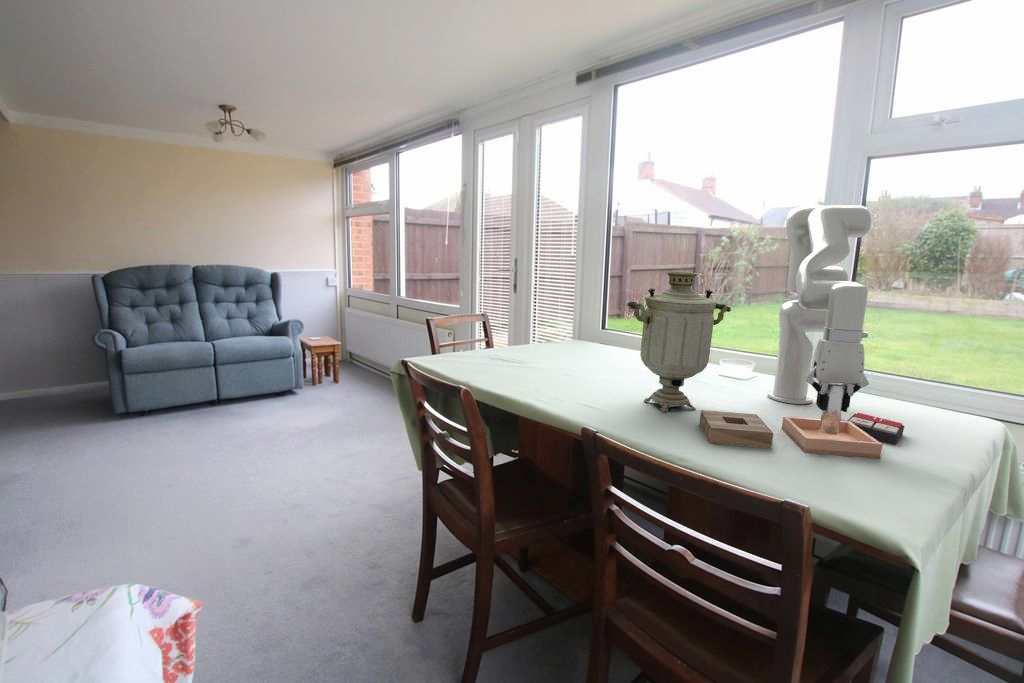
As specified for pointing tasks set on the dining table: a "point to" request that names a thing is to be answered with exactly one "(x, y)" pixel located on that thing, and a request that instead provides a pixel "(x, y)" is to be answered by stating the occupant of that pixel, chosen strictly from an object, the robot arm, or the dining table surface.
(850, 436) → the tray
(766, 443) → the wooden square hole block
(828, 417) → the pin
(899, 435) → the calculator
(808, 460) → the dining table surface
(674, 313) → the samovar
